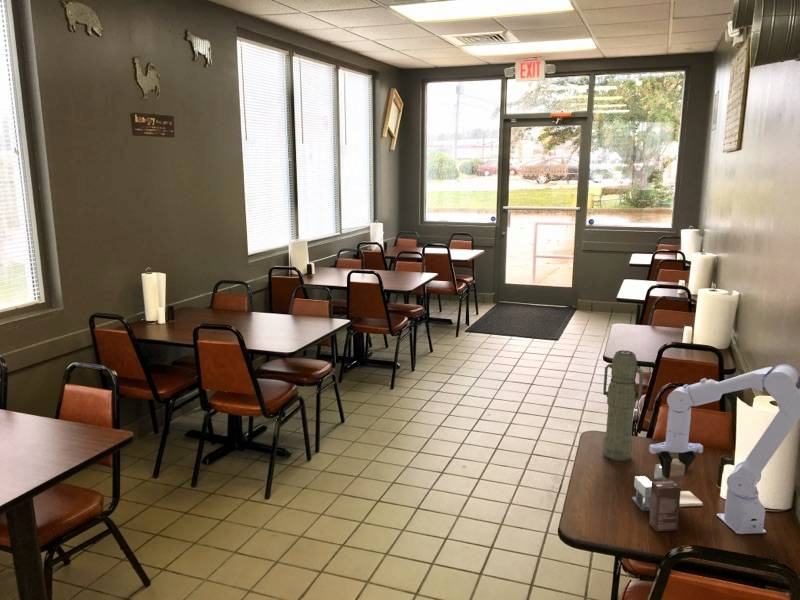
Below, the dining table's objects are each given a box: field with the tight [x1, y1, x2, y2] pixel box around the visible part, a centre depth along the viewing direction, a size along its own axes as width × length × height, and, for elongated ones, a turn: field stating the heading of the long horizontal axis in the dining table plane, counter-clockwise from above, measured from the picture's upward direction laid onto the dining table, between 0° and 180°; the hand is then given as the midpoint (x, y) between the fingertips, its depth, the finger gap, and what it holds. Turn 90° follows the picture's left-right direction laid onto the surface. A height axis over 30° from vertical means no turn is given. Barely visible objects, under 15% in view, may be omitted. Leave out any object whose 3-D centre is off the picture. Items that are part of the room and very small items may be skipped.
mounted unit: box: [631, 475, 652, 512], centre depth 177 cm, size 6×4×7 cm, turn 5°
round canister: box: [653, 463, 664, 481], centre depth 193 cm, size 4×4×4 cm
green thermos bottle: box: [602, 349, 645, 462], centre depth 207 cm, size 9×12×35 cm
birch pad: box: [679, 490, 704, 508], centre depth 181 cm, size 7×7×1 cm
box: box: [648, 480, 682, 532], centre depth 165 cm, size 6×4×12 cm
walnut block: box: [662, 459, 685, 486], centre depth 179 cm, size 4×4×6 cm
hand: (673, 476), depth 179 cm, fingers closed on walnut block, 4 cm apart
